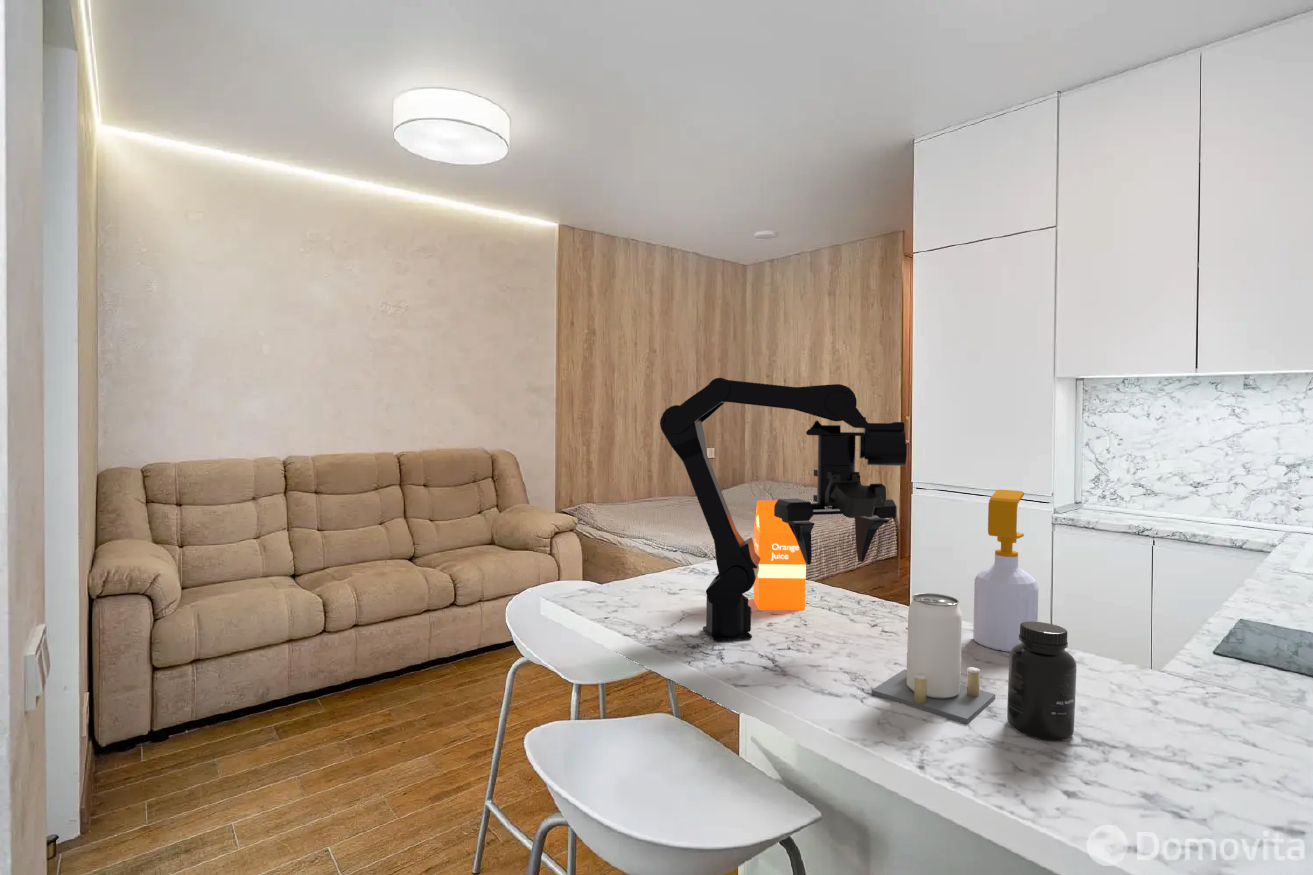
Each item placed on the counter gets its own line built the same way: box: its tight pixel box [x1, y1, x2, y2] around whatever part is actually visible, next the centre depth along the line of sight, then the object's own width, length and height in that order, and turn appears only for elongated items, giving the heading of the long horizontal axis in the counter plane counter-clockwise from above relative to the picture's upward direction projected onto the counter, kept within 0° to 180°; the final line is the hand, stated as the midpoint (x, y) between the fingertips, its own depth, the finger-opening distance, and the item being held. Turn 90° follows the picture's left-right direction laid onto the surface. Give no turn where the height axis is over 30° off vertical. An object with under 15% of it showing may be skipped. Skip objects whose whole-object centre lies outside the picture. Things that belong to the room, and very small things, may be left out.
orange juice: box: [752, 500, 807, 611], centre depth 130 cm, size 8×9×20 cm
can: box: [906, 592, 963, 699], centre depth 88 cm, size 6×6×12 cm
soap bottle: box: [972, 489, 1039, 653], centre depth 108 cm, size 9×9×25 cm
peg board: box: [871, 666, 996, 725], centre depth 88 cm, size 12×10×4 cm
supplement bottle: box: [1006, 621, 1077, 742], centre depth 79 cm, size 7×7×12 cm
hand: (834, 562), depth 107 cm, fingers open, 9 cm apart
